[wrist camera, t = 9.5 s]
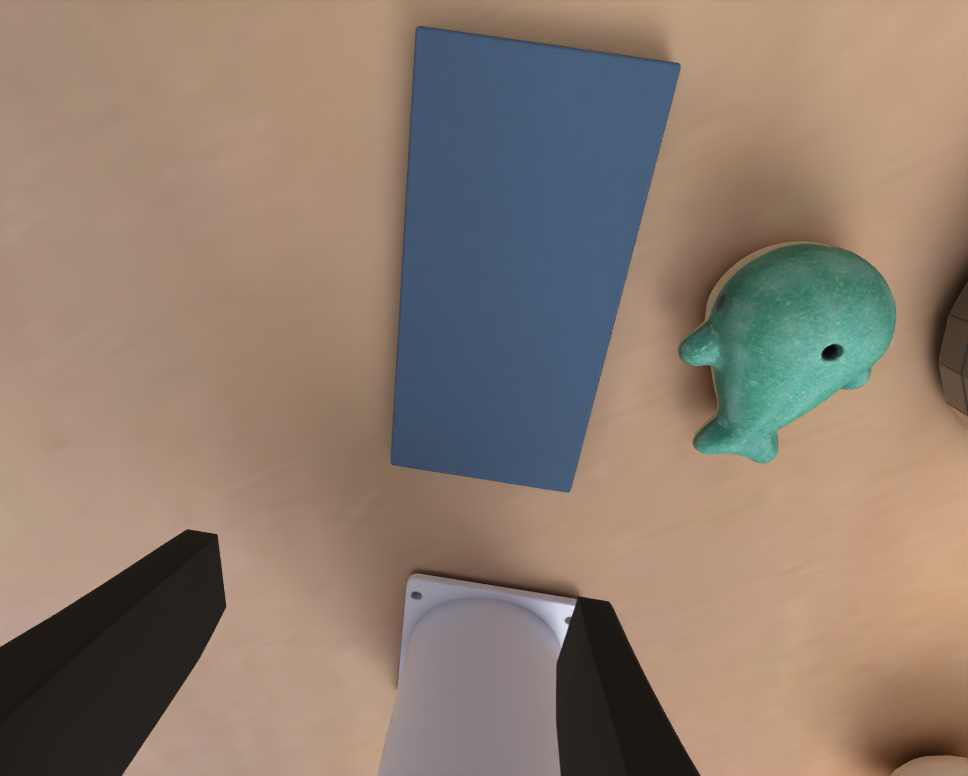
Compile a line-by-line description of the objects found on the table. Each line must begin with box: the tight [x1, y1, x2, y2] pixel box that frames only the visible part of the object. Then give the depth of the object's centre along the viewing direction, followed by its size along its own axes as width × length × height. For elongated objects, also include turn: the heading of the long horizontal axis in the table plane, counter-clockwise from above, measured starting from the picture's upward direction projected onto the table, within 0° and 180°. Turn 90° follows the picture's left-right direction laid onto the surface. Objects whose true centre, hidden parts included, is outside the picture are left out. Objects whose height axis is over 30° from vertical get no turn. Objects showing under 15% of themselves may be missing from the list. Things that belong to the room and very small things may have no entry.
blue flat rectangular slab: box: [391, 26, 681, 493], centre depth 16 cm, size 14×7×1 cm, turn 172°
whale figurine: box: [678, 241, 896, 463], centre depth 15 cm, size 6×7×4 cm
